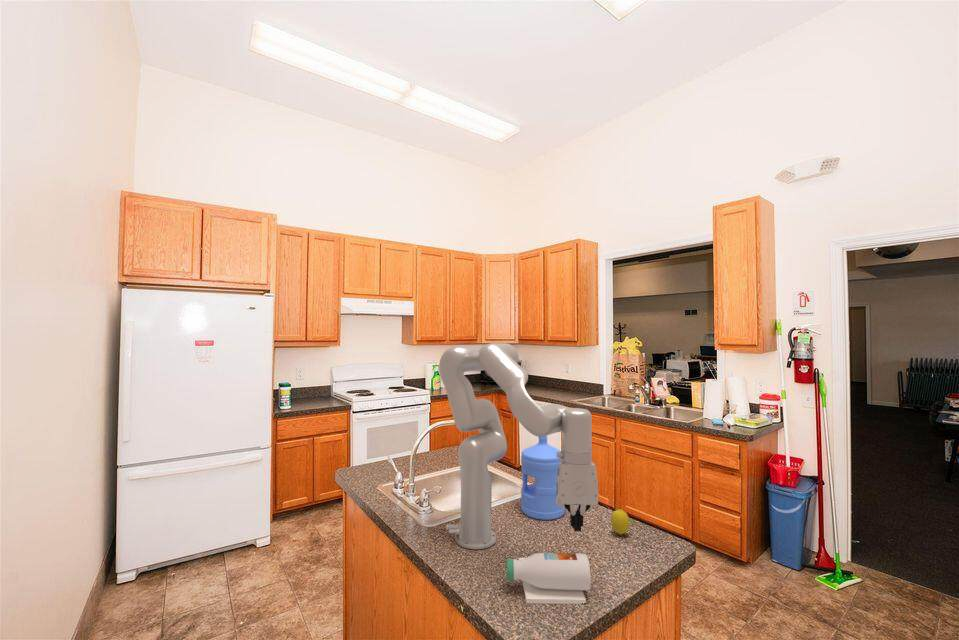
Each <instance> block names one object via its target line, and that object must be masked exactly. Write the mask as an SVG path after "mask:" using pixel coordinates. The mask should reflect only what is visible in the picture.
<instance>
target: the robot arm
mask: <svg viewBox="0 0 959 640" xmlns="http://www.w3.org/2000/svg"><path fill="white" fill-rule="evenodd" d="M519 358H520V357H519V353H518V350H517V349H516V347H514V346H513V345H512V344H510V343H507V342H497V343H496V342H493V343H492V342H491V343H487V344H484V345H455V346H451V347H449V348H447V349H446V350H445V351H444V352H443V353H442V355H440V359H439V364H438V372H439V376H440V379H441V382H442V384H443V387H444V389H445V392H446V395H447V399H448V403H449V406H450V410H451V413H452V418H453V420H454V422H453V423H454V424H455V427H456V429H458V431H460V432H462V433H470V432H474V431H477V430H478V433H477V434H473V435H470V436H468V437H466V438H464V439H463V440H462V441H461V442H460V444H459V447H458V450H457V456H458V461H459V467H460V468H459V469H460V520H459V523H456V524H451V523H447V524H445V531H446V532H449V535H454V538H455V542H456V544H457V545H458V546H459V547H462V548H465V549H469V550H484V549H487V548H489V547H492V546H493V545H494V544H495V543H496V541H497V534H496V532H495V531H493V530H492V499H493V498H492V493H493V492H492V489H493V488H492V486H493V485H492V476H491V474H490V470H489V468H488V465H489V464H491V463H494V462H497V461H499V460H500V459H503V457H505V456H506V453H507V452H508V451H507V450H508V443H507V437H506V435H505V431H504V427H503V425H502V421H501V418H500V415H499V411H498V409H497V408H496V405H495V404H494V403H493V402H492V401H491V400H489V399H486V398H478V399H477V398H476V396H475V392H474V389H473V385H472V383H471V382H470V381H469V379H468V378H467V377H466V376H465V374H464V373H466V372H480V371H485V372H486V373H487V374H488V375H489V376H490V378H491V379H492V380H493V381H494V382H495V383H496V384H497V385H498V386H499V388H501V389H502V390H503V392H504V393H505V394H506V400H507V403H508V407H509V410H510V412H511V414H512V415H513V417H514V418H515V419H516V420H517V421H518V422H519V424H521V426H522V427H523V428H524V429H525V430H526V431H528V432H529V433H530V434H531V435H533V436H535V437H544V436H547V437H548V436H549V435H552V434H555V433H556V434H557V433H560V432H561V450H560V451H561V452H557V453H556V455H557V458H561V459H562V460H560V462H559V467H558V474H557V485H556V494H557V499H556V504H557V506H560V507H564V508H565V510H567V511H568V512H569V514H570V515H569V521H570V522H569V523H570V527H572V528H573V530H574V532H582V527H584V516H585V514H586V512H587V511H589V510H590V509H591V508H596V507H598V506H599V499H600V498H599V481H598V473H597V472H598V471H597V467H596V464H595V462H593V460H592V459H593V458H592V457H593V456H592V455H593V451H592V450H593V444H592V443H593V435H592V433H593V432H592V430H593V429H592V426H593V425H592V423H593V422H592V420H593V419H592V413H591V412H590V410H588V409H585V408H580V407H579V408H578V407H570V406H569V407H568V406H565V405H562V404H558V403H551V404H548V405H543V406H539V404H537V402H536V401H535V400H534V399H533V398H532V397H531V396H530V395H529V393H528V392H527V390H526V387H525V386H526V384H527V382H528V381H529V375H528V374H529V373H528V372H527V371H526V370H525V369H524V368H523V367H522V366H521V365H520V364H518V362H519ZM576 506H577V509H576Z"/></svg>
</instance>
